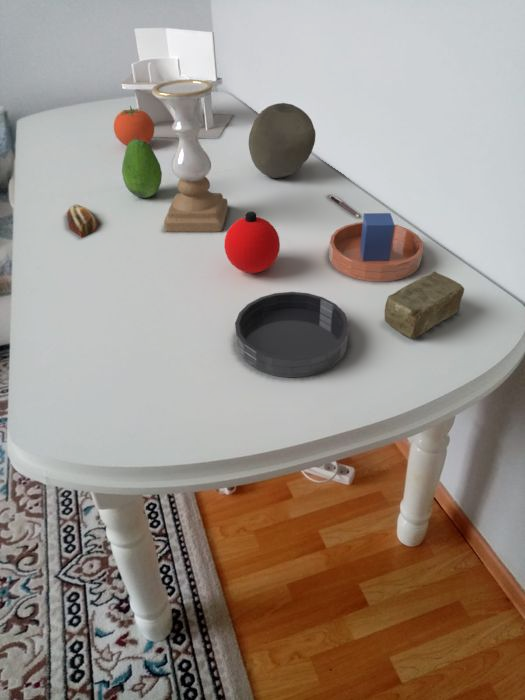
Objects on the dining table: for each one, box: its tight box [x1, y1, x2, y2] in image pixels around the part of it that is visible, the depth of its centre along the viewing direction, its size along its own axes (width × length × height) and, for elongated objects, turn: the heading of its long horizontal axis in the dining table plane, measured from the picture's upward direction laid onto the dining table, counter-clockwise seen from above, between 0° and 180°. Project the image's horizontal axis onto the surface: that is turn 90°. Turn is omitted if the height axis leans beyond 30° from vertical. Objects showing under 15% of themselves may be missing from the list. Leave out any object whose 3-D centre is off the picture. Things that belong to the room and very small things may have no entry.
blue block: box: [360, 212, 395, 261], centre depth 86 cm, size 4×4×6 cm
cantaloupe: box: [248, 102, 317, 179], centre depth 113 cm, size 14×14×15 cm
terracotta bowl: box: [328, 221, 424, 283], centre depth 88 cm, size 15×15×3 cm
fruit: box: [121, 139, 163, 199], centre depth 108 cm, size 8×8×12 cm
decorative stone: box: [66, 203, 99, 239], centre depth 102 cm, size 14×6×2 cm, turn 32°
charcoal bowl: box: [234, 291, 350, 378], centre depth 71 cm, size 15×15×3 cm
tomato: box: [113, 105, 154, 147], centre depth 133 cm, size 10×10×10 cm
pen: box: [329, 194, 360, 218], centre depth 104 cm, size 11×1×1 cm, turn 25°
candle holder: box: [152, 80, 229, 233], centre depth 94 cm, size 11×11×24 cm
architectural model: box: [121, 27, 233, 139], centre depth 142 cm, size 28×21×23 cm
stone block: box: [384, 271, 465, 340], centre depth 73 cm, size 6×12×5 cm, turn 129°
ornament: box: [224, 211, 281, 274], centre depth 84 cm, size 9×9×10 cm
